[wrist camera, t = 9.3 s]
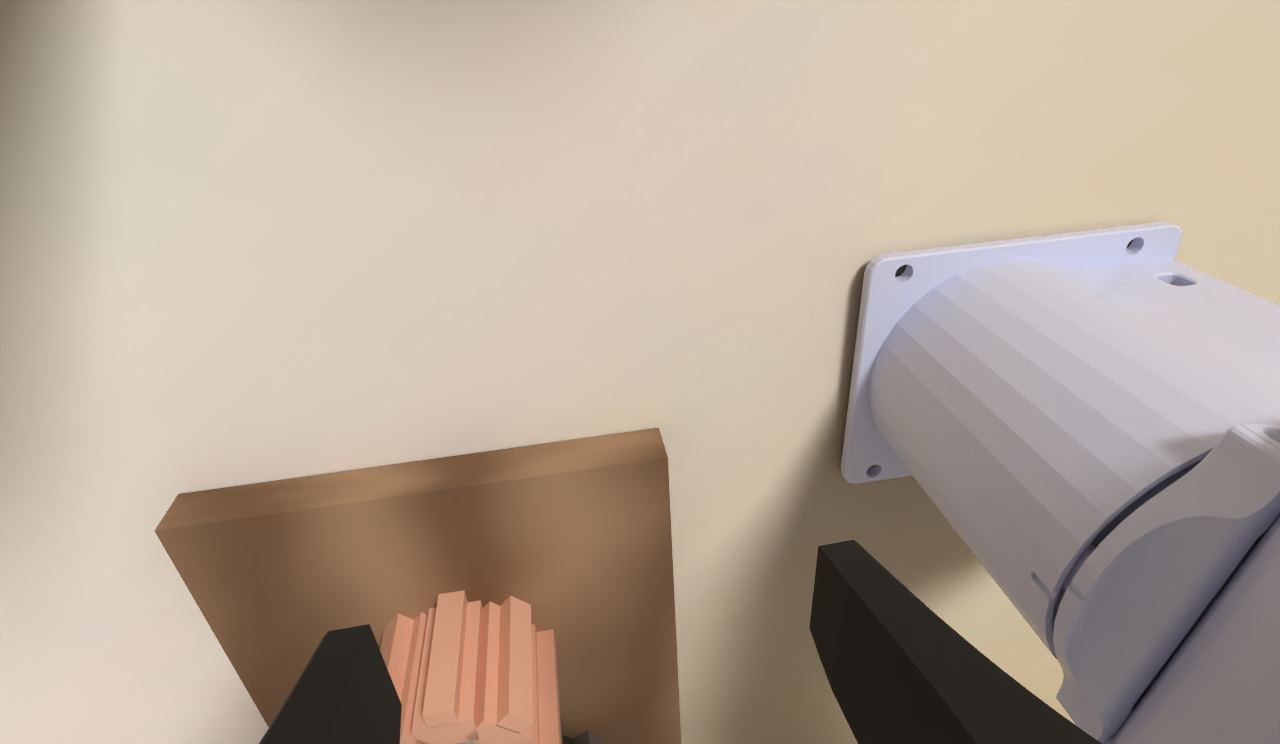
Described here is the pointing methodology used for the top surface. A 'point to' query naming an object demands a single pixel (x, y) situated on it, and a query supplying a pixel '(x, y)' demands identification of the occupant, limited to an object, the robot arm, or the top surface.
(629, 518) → the board
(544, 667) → the terracotta gear
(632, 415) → the top surface
